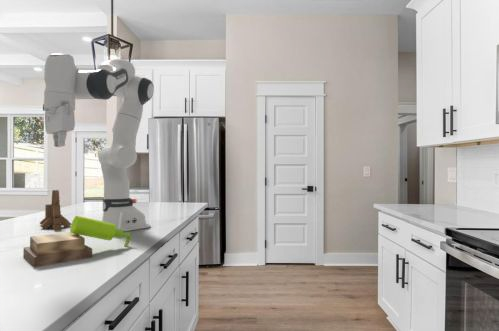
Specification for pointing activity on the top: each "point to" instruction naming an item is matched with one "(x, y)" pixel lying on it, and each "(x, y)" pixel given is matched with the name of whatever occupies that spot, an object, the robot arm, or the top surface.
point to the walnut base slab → (56, 256)
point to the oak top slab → (56, 243)
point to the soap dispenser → (97, 229)
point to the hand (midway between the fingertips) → (59, 146)
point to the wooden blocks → (54, 214)
